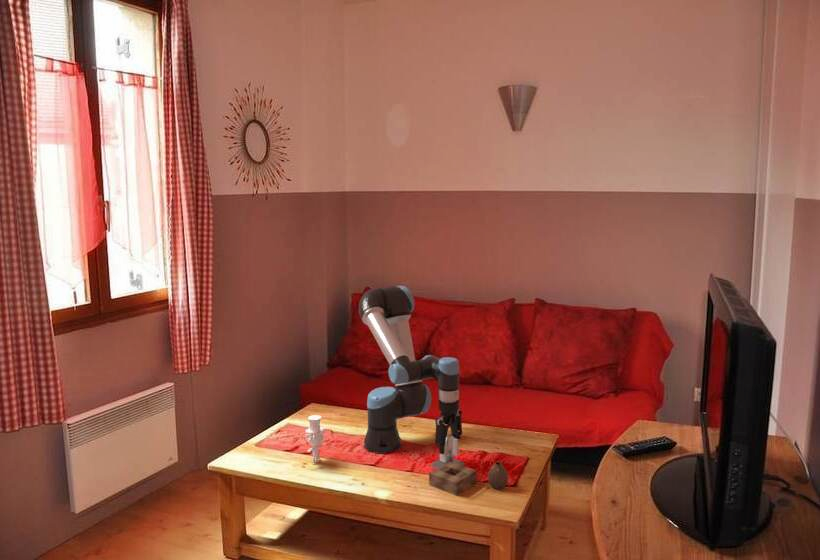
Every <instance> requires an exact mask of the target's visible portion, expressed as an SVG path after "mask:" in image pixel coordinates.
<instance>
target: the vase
mask: <svg viewBox="0 0 820 560" xmlns="http://www.w3.org/2000/svg"><path fill="white" fill-rule="evenodd" d="M487 478H488V484H489V485H490V486H491V488H493V489H494V490H502V489H504V488H505V487H506V486H507V483H508V480H509V475H508V471H507V469H506V467H504V465H503V463H502V462H501V461H495V463H494V464H493V465H492V467H490V469H489V470H488V475H487Z"/></svg>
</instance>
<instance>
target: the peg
mask: <svg viewBox="0 0 820 560" xmlns="http://www.w3.org/2000/svg"><path fill="white" fill-rule="evenodd" d="M453 438H454V437H453V435H452V433H447V438H446V443H445V445H447V462H449V461H450V462H453V459H454V455H453ZM447 462H446V463H447ZM446 463H445V464H446Z"/></svg>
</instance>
